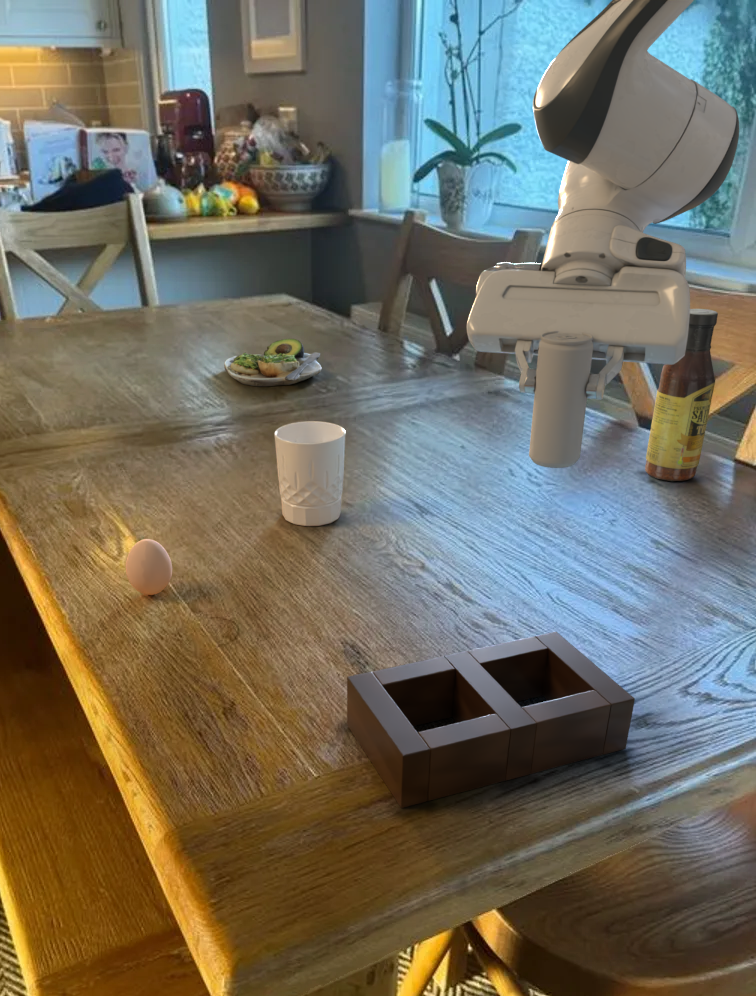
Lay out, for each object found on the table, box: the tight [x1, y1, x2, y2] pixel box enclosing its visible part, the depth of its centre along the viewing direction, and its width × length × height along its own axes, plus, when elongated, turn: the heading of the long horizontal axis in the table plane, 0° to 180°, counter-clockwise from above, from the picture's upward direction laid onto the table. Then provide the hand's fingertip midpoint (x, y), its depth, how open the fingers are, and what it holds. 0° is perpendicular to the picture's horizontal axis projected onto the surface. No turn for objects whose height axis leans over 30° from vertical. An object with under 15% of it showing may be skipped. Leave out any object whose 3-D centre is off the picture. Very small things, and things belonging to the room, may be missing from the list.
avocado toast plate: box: [223, 338, 323, 387], centre depth 158 cm, size 19×18×5 cm
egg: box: [125, 538, 173, 596], centre depth 88 cm, size 4×4×6 cm
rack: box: [346, 631, 636, 809], centre depth 67 cm, size 18×10×4 cm, turn 109°
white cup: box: [273, 420, 346, 527], centre depth 102 cm, size 8×8×10 cm
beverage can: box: [528, 331, 593, 469], centre depth 85 cm, size 5×5×12 cm
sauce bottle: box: [644, 308, 719, 482], centre depth 109 cm, size 7×6×20 cm
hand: (560, 393), depth 84 cm, fingers closed on beverage can, 5 cm apart
